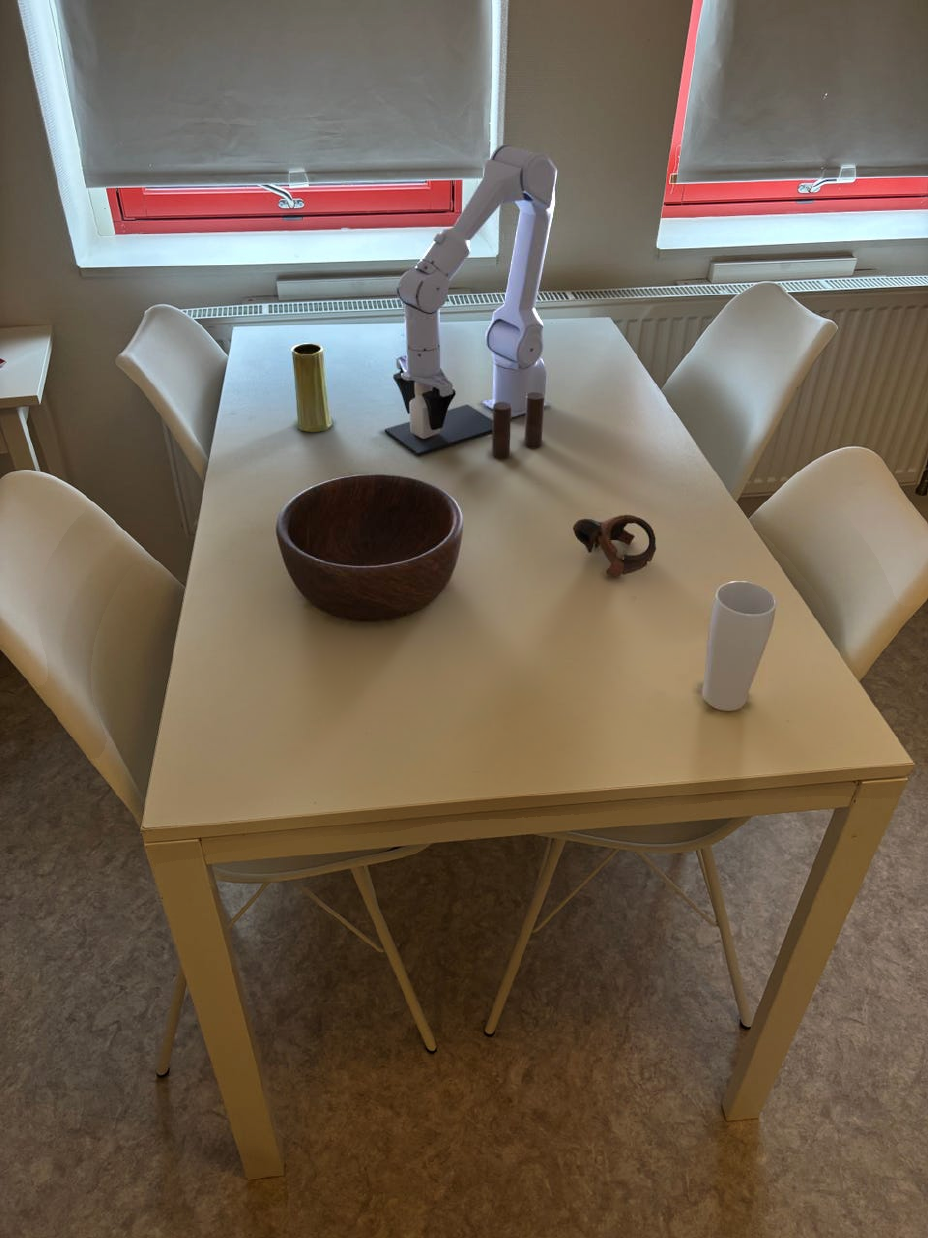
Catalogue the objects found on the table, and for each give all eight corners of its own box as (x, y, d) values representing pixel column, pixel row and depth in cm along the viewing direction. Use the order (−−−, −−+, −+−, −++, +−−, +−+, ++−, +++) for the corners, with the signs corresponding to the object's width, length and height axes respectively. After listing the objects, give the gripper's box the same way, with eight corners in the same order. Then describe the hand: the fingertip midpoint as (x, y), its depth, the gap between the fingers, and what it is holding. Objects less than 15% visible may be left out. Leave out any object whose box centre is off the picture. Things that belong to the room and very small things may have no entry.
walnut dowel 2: (534, 438, 169) (536, 390, 164) (545, 444, 167) (548, 396, 162) (520, 442, 168) (523, 394, 162) (531, 449, 166) (533, 400, 160)
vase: (334, 418, 175) (328, 342, 166) (327, 433, 170) (320, 356, 162) (301, 416, 176) (293, 341, 167) (293, 431, 171) (285, 354, 162)
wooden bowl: (264, 554, 140) (255, 492, 133) (424, 519, 148) (423, 459, 141) (312, 655, 121) (304, 588, 115) (492, 608, 129) (494, 544, 123)
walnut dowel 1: (502, 448, 166) (504, 400, 161) (513, 455, 164) (514, 406, 159) (488, 453, 165) (489, 404, 159) (498, 460, 163) (500, 411, 157)
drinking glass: (688, 681, 118) (707, 581, 109) (742, 678, 118) (765, 578, 109) (703, 719, 112) (725, 617, 103) (760, 716, 113) (786, 614, 104)
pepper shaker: (423, 440, 167) (422, 389, 161) (409, 432, 169) (407, 381, 164) (440, 433, 169) (440, 382, 163) (426, 426, 171) (425, 375, 166)
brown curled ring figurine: (649, 545, 143) (667, 518, 135) (635, 599, 139) (653, 575, 131) (573, 519, 143) (587, 491, 135) (556, 572, 139) (570, 547, 131)
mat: (467, 407, 179) (467, 404, 179) (502, 429, 172) (502, 426, 172) (384, 432, 171) (384, 428, 171) (418, 456, 164) (418, 453, 163)
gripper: (379, 336, 162) (383, 410, 171) (426, 364, 153) (428, 441, 161) (414, 327, 166) (417, 401, 174) (463, 354, 156) (462, 430, 164)
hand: (424, 420), depth 168 cm, fingers open, 7 cm apart
